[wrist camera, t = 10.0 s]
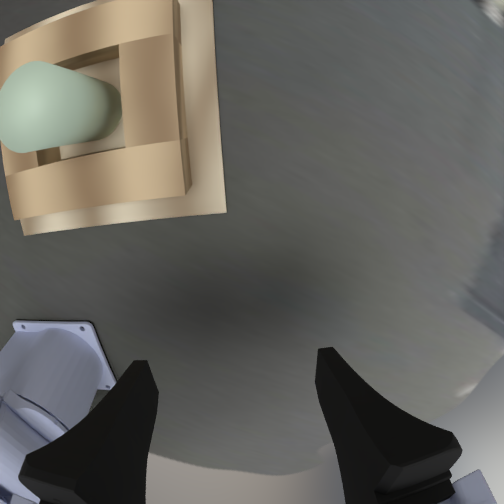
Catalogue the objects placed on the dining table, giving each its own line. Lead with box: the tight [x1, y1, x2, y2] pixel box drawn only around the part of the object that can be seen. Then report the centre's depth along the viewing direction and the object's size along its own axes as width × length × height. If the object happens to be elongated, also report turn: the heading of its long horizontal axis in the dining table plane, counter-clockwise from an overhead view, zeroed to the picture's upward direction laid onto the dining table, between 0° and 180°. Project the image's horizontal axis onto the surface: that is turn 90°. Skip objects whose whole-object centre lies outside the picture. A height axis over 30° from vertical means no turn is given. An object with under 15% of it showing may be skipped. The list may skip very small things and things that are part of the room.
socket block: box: [0, 0, 227, 236], centre depth 15 cm, size 16×16×3 cm
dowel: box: [0, 61, 122, 153], centre depth 13 cm, size 4×4×8 cm
